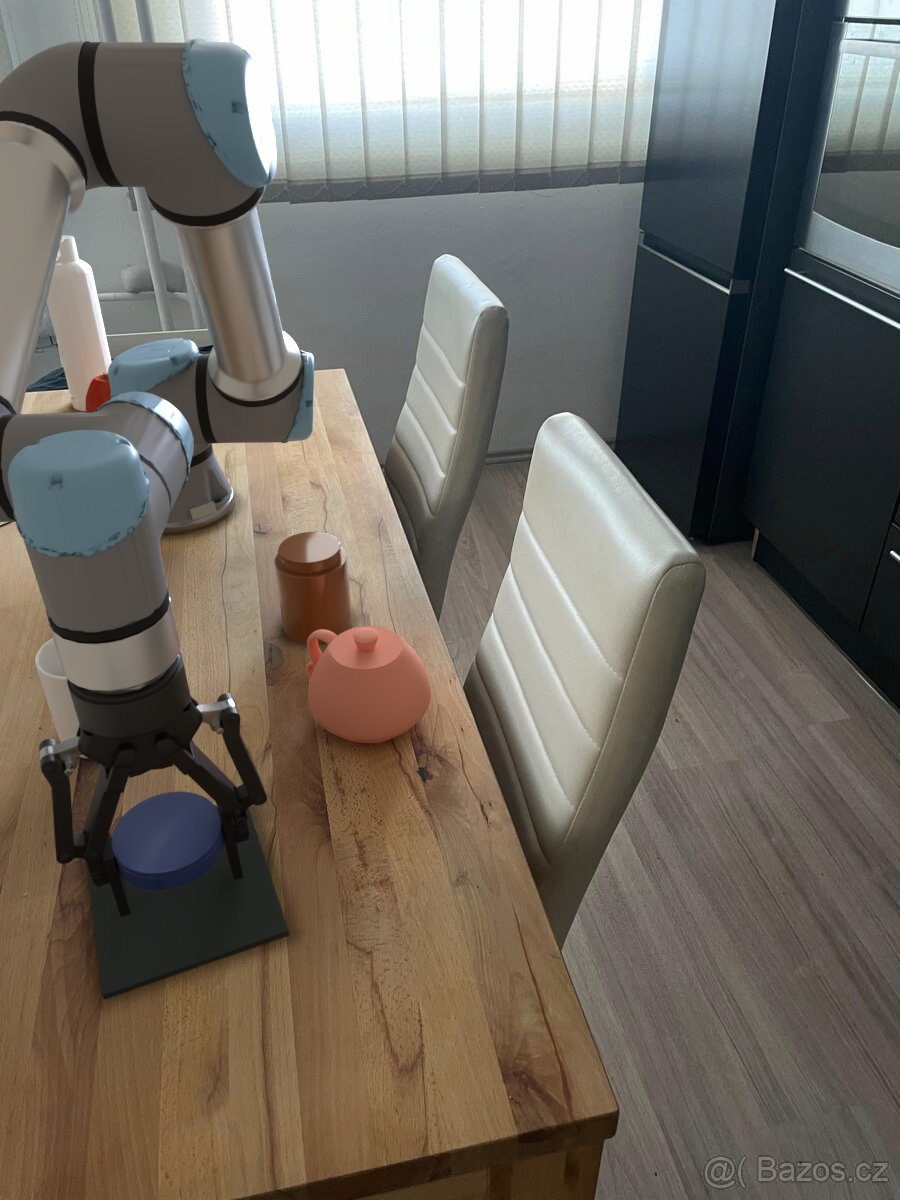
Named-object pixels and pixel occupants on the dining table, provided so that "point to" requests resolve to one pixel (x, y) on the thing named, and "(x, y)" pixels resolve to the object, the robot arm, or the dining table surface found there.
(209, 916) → the mat
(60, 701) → the mug
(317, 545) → the jar
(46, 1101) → the dining table surface
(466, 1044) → the dining table surface
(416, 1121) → the dining table surface
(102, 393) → the apple
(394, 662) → the sugar bowl
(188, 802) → the lid
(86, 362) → the bottle
